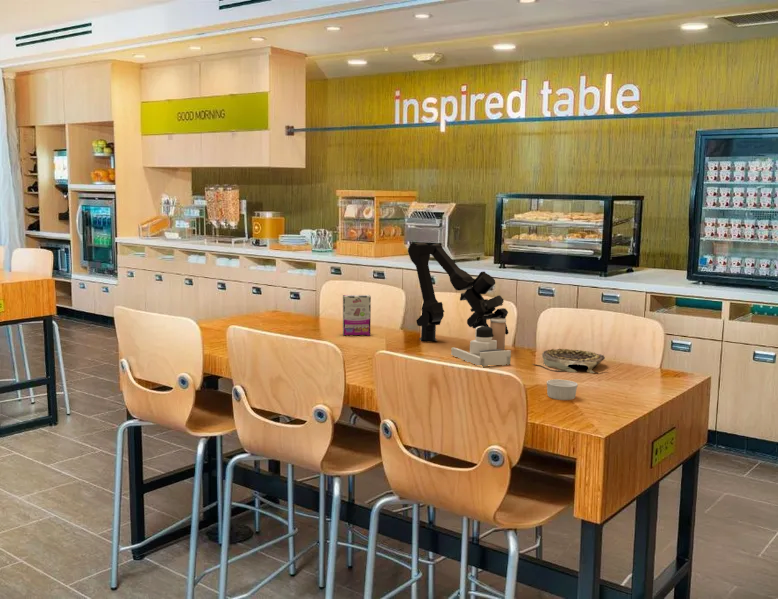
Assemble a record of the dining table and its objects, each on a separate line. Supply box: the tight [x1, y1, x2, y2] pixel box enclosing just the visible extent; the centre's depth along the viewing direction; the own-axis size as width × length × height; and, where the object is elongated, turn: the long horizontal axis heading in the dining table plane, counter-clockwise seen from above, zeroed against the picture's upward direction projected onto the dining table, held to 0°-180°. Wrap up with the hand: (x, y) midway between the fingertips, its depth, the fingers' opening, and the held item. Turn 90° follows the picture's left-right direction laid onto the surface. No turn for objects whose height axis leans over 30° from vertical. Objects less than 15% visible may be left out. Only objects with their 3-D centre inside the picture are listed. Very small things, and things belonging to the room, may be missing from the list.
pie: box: [533, 348, 605, 374], centre depth 273 cm, size 28×27×5 cm
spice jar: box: [489, 318, 507, 351], centre depth 289 cm, size 6×6×13 cm
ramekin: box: [546, 378, 579, 401], centre depth 229 cm, size 9×9×4 cm
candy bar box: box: [342, 294, 372, 337], centre depth 321 cm, size 11×5×16 cm, turn 99°
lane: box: [450, 347, 512, 368], centre depth 277 cm, size 20×12×5 cm, turn 25°
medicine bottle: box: [469, 326, 497, 356], centre depth 275 cm, size 7×7×12 cm
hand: (500, 335), depth 288 cm, fingers open, 9 cm apart
